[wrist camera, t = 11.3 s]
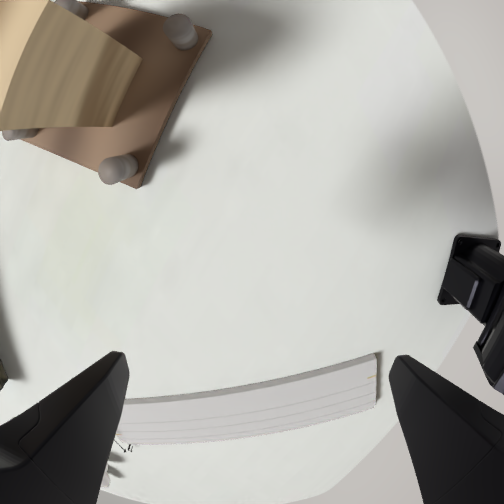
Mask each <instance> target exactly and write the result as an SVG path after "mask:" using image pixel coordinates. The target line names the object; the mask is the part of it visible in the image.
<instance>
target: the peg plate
mask: <svg viewBox="0 0 504 504" xmlns="http://www.w3.org/2000/svg"><path fill="white" fill-rule="evenodd" d="M54 3H56V4H58V5H59V6H61V7H63V8H65V9H66V10H68V11H70V12H72V13H73V14H75V15H77V16H78V17H80V18H82V19H83V20H85V21H86V22H88V23H90V24H91V25H93V26H94V27H96V28H98V29H99V30H101V31H102V32H104V33H105V34H107V35H109V36H110V37H112V38H113V39H115V40H116V41H118V42H119V43H121V44H122V45H124V46H125V47H127V48H128V49H129V50H131V51H132V52H134V53H135V54H137V55H138V56H140V57H141V58H142V59H143V60H142V62H141V64H140V66H139V68H138V70H137V72H136V74H135V76H134V78H133V80H132V82H131V84H130V86H129V88H128V91H127V93H126V95H125V97H124V99H123V102H122V104H121V106H120V109H119V111H118V113H117V116H116V118H115V121H114V123H113V126H112V127H50V128H31V129H17V130H5V131H2V135H3V137H4V139H5V140H7V141H9V140H17V139H21V140H23V141H25V142H28V143H30V144H33V145H35V146H37V147H40V148H42V149H44V150H47V151H49V152H52V153H54V154H56V155H59V156H61V157H63V158H66V159H68V160H70V161H73V162H75V163H77V164H80V165H82V166H84V167H87V168H89V169H91V170H94V171H96V172H98V174H99V177H100V179H101V180H102V181H103V182H104V183H105V184H108V185H112V184H115V183H118V182H121V183H124V184H126V185H128V186H131V187H133V188H135V189H138V188H140V187H141V184H142V182H143V179H144V176H145V174H146V171H147V168H148V166H149V163H150V161H151V158H152V156H153V153H154V151H155V149H156V146H157V144H158V141H159V139H160V137H161V134H162V132H163V130H164V128H165V125H166V123H167V121H168V119H169V117H170V114H171V112H172V110H173V108H174V106H175V104H176V102H177V100H178V97H179V95H180V93H181V91H182V89H183V87H184V85H185V83H186V81H187V79H188V77H189V76H190V74H191V72H192V70H193V68H194V66H195V64H196V62H197V61H198V59H199V57H200V55H201V53H202V51H203V50H204V48H205V46H206V44H207V43H208V41H209V39H210V37H211V36H212V31H211V30H209V29H206V28H202V27H199V26H196V25H193V24H192V22H191V20H190V18H189V17H188V16H186V15H184V14H175V15H172V16H170V17H169V18H168V17H164V16H160V15H156V14H152V13H148V12H143V11H138V10H134V9H128V8H123V7H117V6H111V5H104V4H97V3H89V2H80V1H77V0H56V1H55V2H54Z"/></svg>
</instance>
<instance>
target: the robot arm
mask: <svg viewBox="0 0 504 504" xmlns="http://www.w3.org/2000/svg"><path fill="white" fill-rule="evenodd" d="M459 240H460V241H459ZM458 242H459V243H458ZM500 246H501V242H500V241H499V240H498V239H492V238H483V237H474V236H464V235H457V236H456V237H455V238H454V242H453V246H452V250H451V254H450V258H449V262H448V265H447V269H446V272H445V276H444V279H443V283H442V286H441V289H440V293H439V296H438V299H437V301H438V302H439V303H440V304H441V305H450V304H461V305H462V306H463V307H464V308H465V309H466V310H468V311H469V312H470V313H471V314H472V315H473V316H474V317H475V318H476V319H477V320H478V321H479V322H480V323H482V324H483V325H484V326H485V328H484V330H483V331H482V333H481V335H480V337H479V339H478V341H477V342H476V343H475V345H474V347H473V348H474V350H475V352H476V354H477V357H478V359H479V361H480V364H481V366H482V369H483V371H484V373H485V376H486V378H487V380H488V382H489V384H490V385H491V386H492V387H493V388H494V389H495V390H497V391H499V392H501V393H502V394H503V395H504V256H503V255H502V254H500V253H499V250H500ZM442 299H443V300H442ZM128 381H129V368H128V364H127V360H126V357H125V354H124V353H123V352H117V351H111V352H110V353H108V354H107V355H105V356H104V357H103V358H101V359H100V360H98V361H97V362H95V363H94V364H93V365H91V366H90V367H88V368H87V369H85V370H84V371H83V372H81V373H80V374H78V375H77V376H75V377H74V378H72V379H71V380H70V381H68V382H67V383H65V384H64V385H62V386H61V387H60V388H58V389H57V390H55V391H54V392H52V393H51V394H49V395H48V396H47V397H45V398H44V399H42V400H41V401H40V402H39V403H36V404H35V405H34V406H32V407H31V408H29V409H28V410H26V411H25V412H23V413H22V414H20V415H18V416H17V417H15V418H13V419H11V420H10V421H8V422H6V423H4V424H2V425H1V426H0V504H96V502H97V498H98V494H99V490H100V487H101V483H102V479H103V476H104V472H105V468H106V465H107V461H108V458H109V454H110V451H111V448H112V444H113V441H114V438H115V434H116V431H117V428H118V425H119V422H120V418H121V415H122V410H123V405H124V400H125V395H126V390H127V385H128ZM389 382H390V386H391V390H392V394H393V399H394V403H395V407H396V412H397V415H398V419H399V422H400V425H401V428H402V431H403V433H404V437H405V440H406V443H407V446H408V450H409V453H410V456H411V459H412V463H413V466H414V469H415V473H416V476H417V480H418V483H419V487H420V491H421V495H422V499H423V503H424V504H504V415H503V414H501V413H499V412H497V411H496V410H494V409H492V408H491V407H489V406H487V405H486V404H484V403H483V402H481V401H479V400H478V399H476V398H475V397H473V396H472V395H470V394H469V393H467V392H465V391H463V390H462V389H461V388H459V387H458V386H456V385H454V384H453V383H451V382H450V381H448V380H447V379H445V378H443V377H442V376H440V375H439V374H437V373H436V372H434V371H432V370H431V369H429V368H428V367H426V366H425V365H423V364H421V363H420V362H418V361H417V360H415V359H414V358H412V357H410V356H409V355H399V356H397V357H396V358H395V360H394V363H393V365H392V368H391V370H390V373H389Z"/></svg>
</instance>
